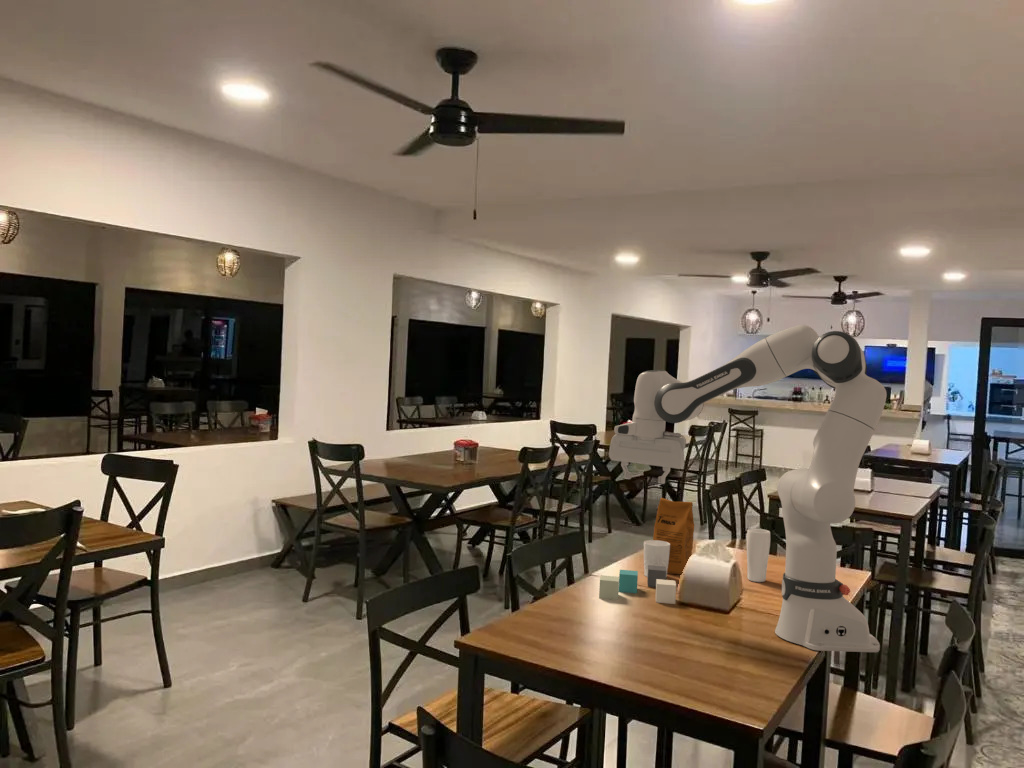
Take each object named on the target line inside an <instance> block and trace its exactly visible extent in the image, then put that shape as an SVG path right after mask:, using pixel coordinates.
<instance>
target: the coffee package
mask: <svg viewBox="0 0 1024 768" xmlns="http://www.w3.org/2000/svg"><path fill="white" fill-rule="evenodd" d="M693 506H694V504H693V501H673V500H670V499H667V498H664V497H660V500H659V504H658V506H657V512H656V517H655V523H654V526H653V538H652V540H659V541H665V542H668V543H670V554H669V564H668V569H667V574H670V575H671V574H672V575H681V576H683V575H682V573H683V572H682V571H683V569H684V567H685V565H686V563H687V561H688V559H689V557H690V556H691V555H692V556H693V548H694V547H693V545H694V532H695V521H694V512H693Z"/></svg>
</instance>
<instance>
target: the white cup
mask: <svg viewBox="0 0 1024 768" xmlns="http://www.w3.org/2000/svg"><path fill="white" fill-rule="evenodd" d="M669 554H670V543H668V542H665V541H659V540H653V539H649V540H644V541H643V568H644V569H643V571H644V572H643V576H645V578H648V565H653V566H665V567H666V578H667V577H668V573H667V569H668V564H669Z"/></svg>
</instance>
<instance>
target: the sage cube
mask: <svg viewBox="0 0 1024 768" xmlns="http://www.w3.org/2000/svg"><path fill="white" fill-rule="evenodd" d="M598 591H599V593H598V599H603V600H613V601H619V593H620V592H619V576H614V575H603V574H601V575H600V578H599V589H598Z"/></svg>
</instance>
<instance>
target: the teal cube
mask: <svg viewBox="0 0 1024 768" xmlns="http://www.w3.org/2000/svg"><path fill="white" fill-rule="evenodd" d="M638 572H639V571H638V570H628V569H619V576H618V577H619V592H618V593H627V594H628V593H630V594H637V593H638V579H639V578H638V577H639V573H638Z"/></svg>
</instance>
